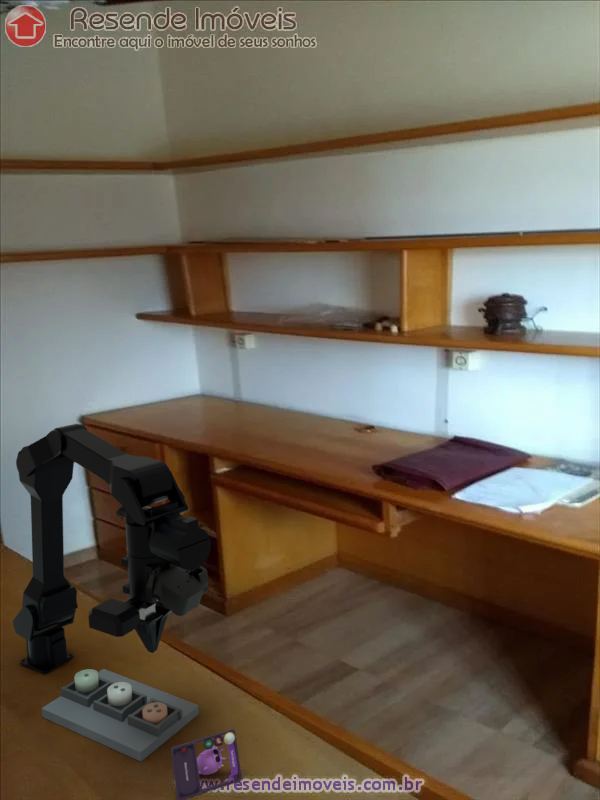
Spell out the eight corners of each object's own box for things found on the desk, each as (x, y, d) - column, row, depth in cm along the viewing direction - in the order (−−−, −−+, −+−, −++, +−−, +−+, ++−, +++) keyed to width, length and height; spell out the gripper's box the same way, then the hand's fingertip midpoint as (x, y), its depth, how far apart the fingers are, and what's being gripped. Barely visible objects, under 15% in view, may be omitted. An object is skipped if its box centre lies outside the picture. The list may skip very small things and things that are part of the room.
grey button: (102, 701, 120) (102, 690, 119) (119, 689, 123) (119, 679, 122) (120, 708, 118) (119, 697, 118) (137, 696, 121) (136, 685, 121)
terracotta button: (137, 722, 116) (137, 711, 116) (154, 710, 119) (153, 699, 119) (156, 730, 115) (155, 719, 114) (172, 717, 118) (172, 706, 117)
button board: (42, 717, 121) (40, 700, 120) (104, 676, 131) (103, 661, 131) (140, 761, 110) (139, 743, 110) (199, 714, 121) (198, 697, 121)
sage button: (70, 688, 123) (69, 677, 123) (87, 677, 126) (86, 666, 126) (86, 694, 121) (85, 683, 121) (103, 683, 124) (103, 672, 124)
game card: (172, 749, 103) (236, 730, 107) (161, 740, 107) (223, 722, 111) (179, 803, 102) (244, 781, 106) (168, 791, 107) (230, 771, 111)
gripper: (145, 588, 100) (150, 699, 103) (232, 539, 115) (235, 637, 118) (82, 569, 105) (89, 675, 108) (173, 525, 121) (177, 619, 124)
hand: (152, 651), depth 115 cm, fingers closed
